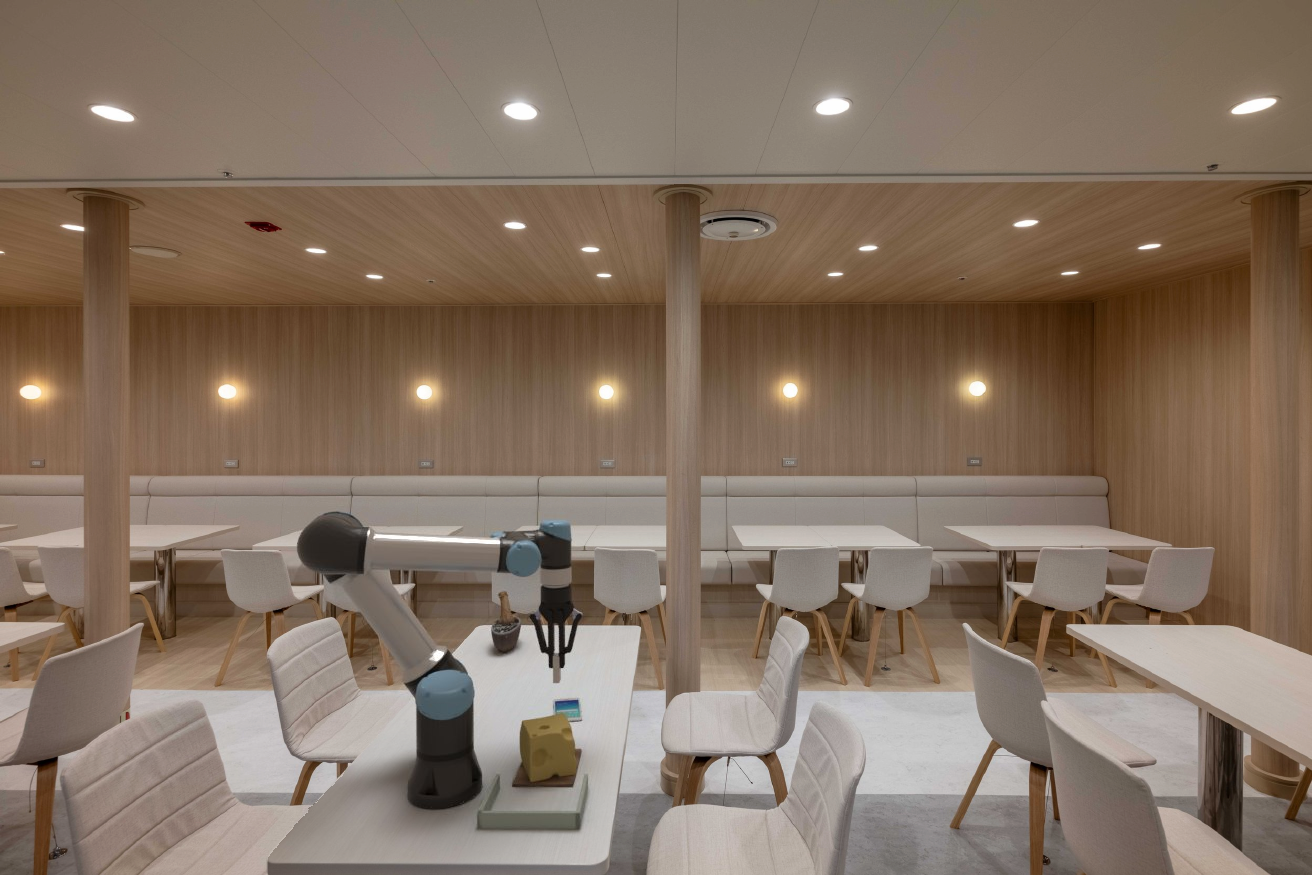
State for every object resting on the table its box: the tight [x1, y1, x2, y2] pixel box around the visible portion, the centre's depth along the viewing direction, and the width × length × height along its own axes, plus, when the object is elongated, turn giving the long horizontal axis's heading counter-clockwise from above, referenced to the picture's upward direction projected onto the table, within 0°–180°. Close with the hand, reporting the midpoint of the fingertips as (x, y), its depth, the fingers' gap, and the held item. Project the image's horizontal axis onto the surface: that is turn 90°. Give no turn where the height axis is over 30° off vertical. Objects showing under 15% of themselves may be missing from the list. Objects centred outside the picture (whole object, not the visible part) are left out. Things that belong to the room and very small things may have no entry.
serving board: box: [511, 748, 583, 788], centre depth 152 cm, size 16×13×1 cm
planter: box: [490, 590, 522, 653], centre depth 237 cm, size 15×17×20 cm
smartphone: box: [552, 697, 583, 723], centre depth 184 cm, size 7×1×15 cm
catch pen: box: [476, 773, 589, 830], centre depth 136 cm, size 15×20×3 cm
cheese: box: [519, 713, 577, 782], centre depth 151 cm, size 10×11×10 cm
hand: (556, 680), depth 164 cm, fingers closed
